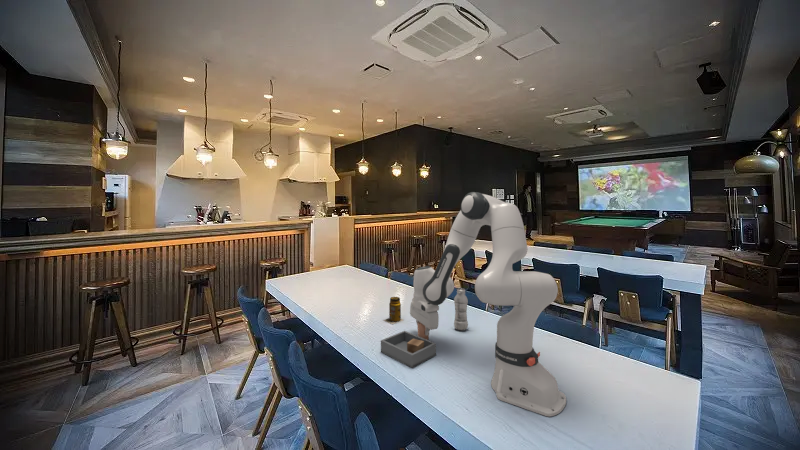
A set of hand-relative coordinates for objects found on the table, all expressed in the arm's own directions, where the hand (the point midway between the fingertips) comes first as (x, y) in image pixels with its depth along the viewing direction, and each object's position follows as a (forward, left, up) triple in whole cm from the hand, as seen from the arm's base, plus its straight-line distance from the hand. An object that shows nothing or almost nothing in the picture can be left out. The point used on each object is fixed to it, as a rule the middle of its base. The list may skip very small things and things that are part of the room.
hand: (423, 332), depth 139 cm
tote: (-5, +15, -3) cm, 16 cm away
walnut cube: (-9, +15, -2) cm, 17 cm away
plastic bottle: (-6, -21, -3) cm, 22 cm away
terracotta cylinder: (0, 0, -3) cm, 3 cm away
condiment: (+26, -6, -4) cm, 27 cm away
